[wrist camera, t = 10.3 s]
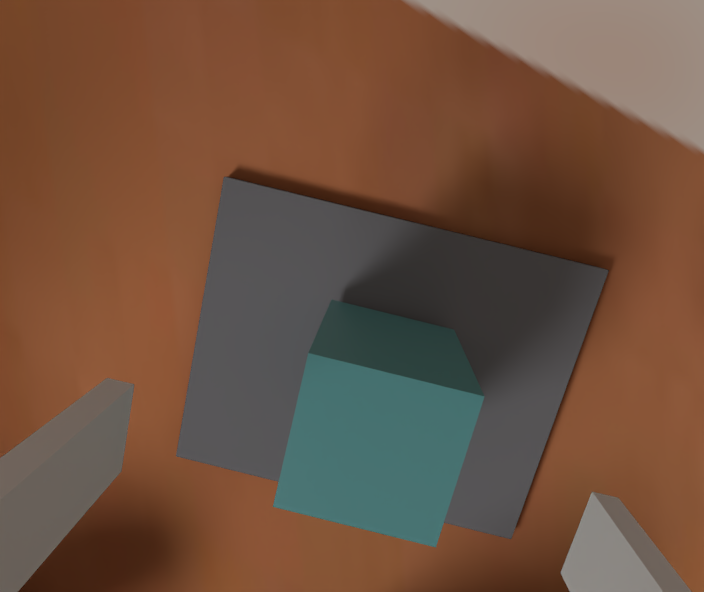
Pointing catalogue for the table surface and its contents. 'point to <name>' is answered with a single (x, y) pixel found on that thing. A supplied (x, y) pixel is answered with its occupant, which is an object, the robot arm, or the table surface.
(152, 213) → the table surface
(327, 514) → the teal block
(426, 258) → the grey square base plate
